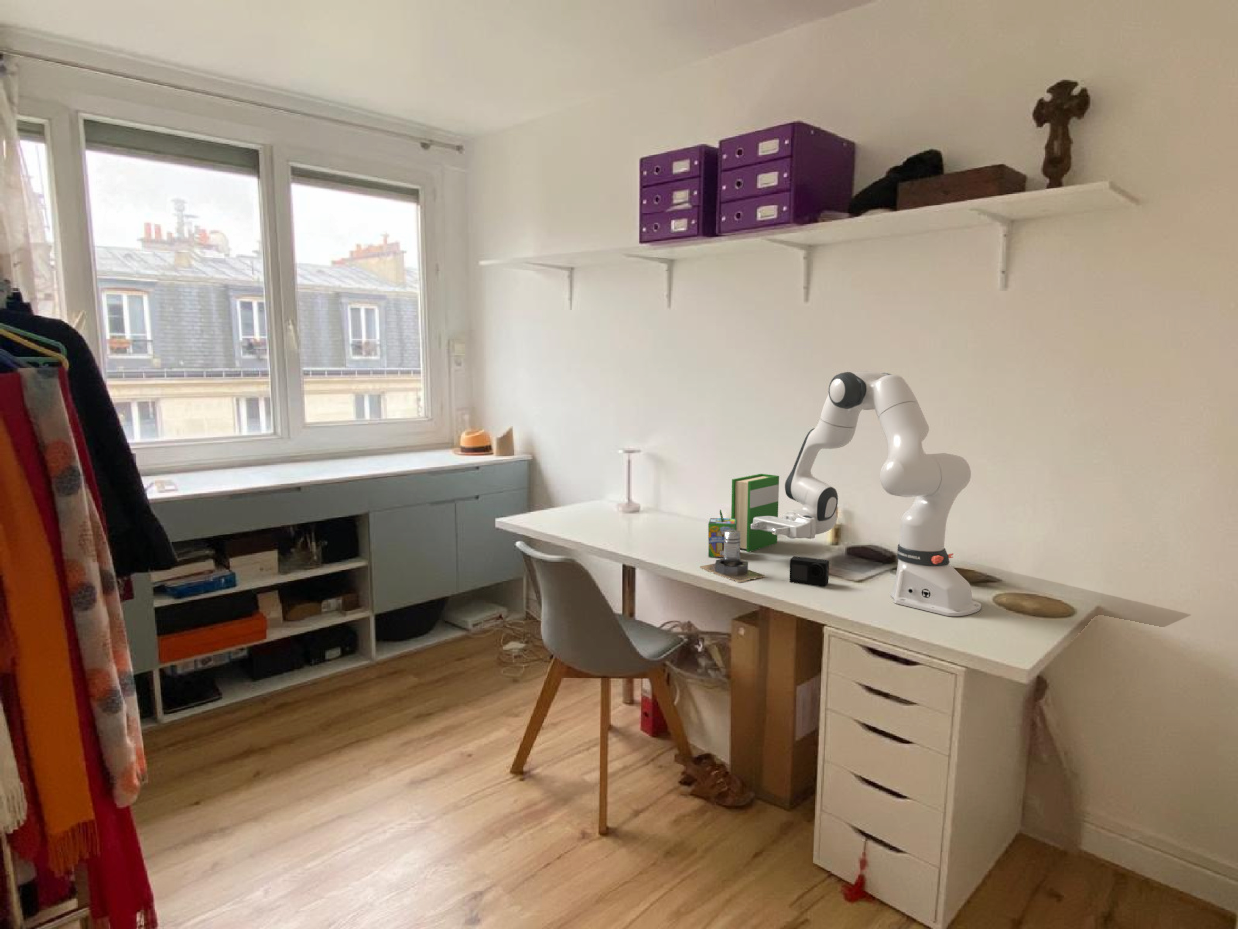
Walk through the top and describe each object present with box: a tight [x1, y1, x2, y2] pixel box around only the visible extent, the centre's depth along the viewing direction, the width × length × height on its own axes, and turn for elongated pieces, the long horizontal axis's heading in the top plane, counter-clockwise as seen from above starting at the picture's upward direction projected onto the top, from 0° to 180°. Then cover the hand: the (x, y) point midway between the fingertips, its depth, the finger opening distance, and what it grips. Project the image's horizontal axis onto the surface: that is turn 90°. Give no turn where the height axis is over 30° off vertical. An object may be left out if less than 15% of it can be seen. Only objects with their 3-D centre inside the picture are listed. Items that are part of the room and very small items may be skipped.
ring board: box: [699, 558, 766, 583], centre depth 222 cm, size 18×10×3 cm, turn 33°
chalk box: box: [707, 509, 737, 558], centre depth 243 cm, size 9×9×15 cm
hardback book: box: [730, 473, 780, 553], centre depth 254 cm, size 18×7×24 cm, turn 136°
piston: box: [723, 530, 741, 566], centre depth 221 cm, size 5×5×12 cm
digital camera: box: [789, 555, 830, 588], centre depth 211 cm, size 10×5×7 cm, turn 62°
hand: (762, 529), depth 226 cm, fingers open, 8 cm apart
